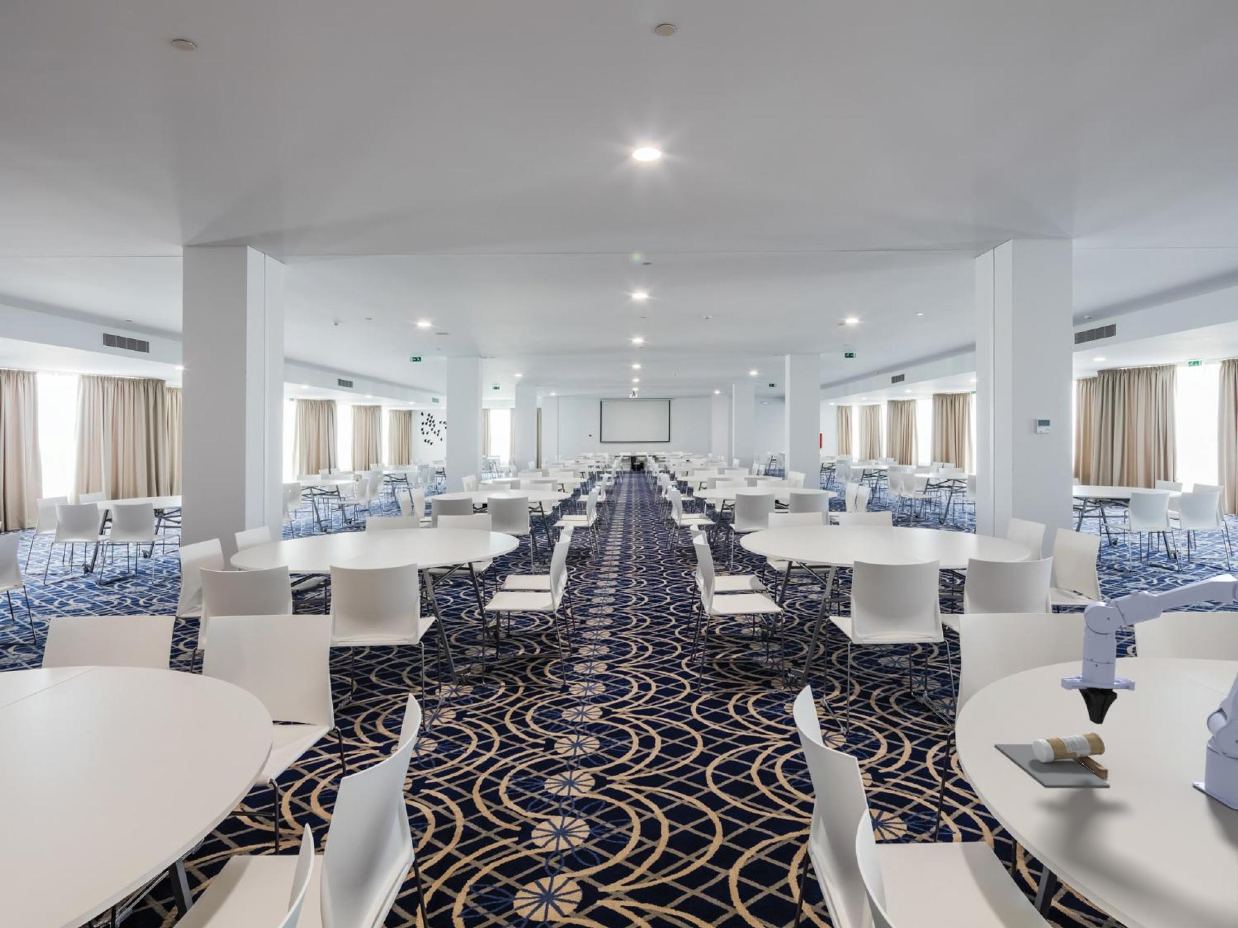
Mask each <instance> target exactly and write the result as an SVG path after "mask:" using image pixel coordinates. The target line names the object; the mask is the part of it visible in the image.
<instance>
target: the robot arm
mask: <svg viewBox="0 0 1238 928" xmlns="http://www.w3.org/2000/svg"><path fill="white" fill-rule="evenodd" d="M1129 593H1130V594H1126V595H1124V596H1120V597H1116V598H1112V599H1111V597H1106V598H1104V601H1092V602H1090V603H1089V604H1088V605H1087V606H1085V608H1084V611H1083V618H1084V620H1085V626H1084V635H1083V644H1082V665H1081V666H1082V669H1081V674H1080V675H1077V676H1076V675H1075V676H1070V677H1069V676H1068V677H1061V679H1060V680H1061V683H1060V684H1061V685H1060V686H1061V688H1063V689H1065V690H1067V691H1072V690H1073V689H1074V690H1078V691H1079V693H1080V694H1081V697H1082V698H1083V701H1084V703H1085V705H1086V709H1087V713H1088V718H1089V721H1090V722H1092V723H1094V724H1095V725H1103V723H1104V720H1105V717H1106V716H1107V713H1108V711H1109V709H1110V707H1111V706H1112V704H1113V703H1114V702H1115V701H1116V700H1117V699H1118V693H1117V692H1115V691H1114V690H1128V691H1135V687H1136V681H1135V680H1132V679H1130V678H1126V677H1125V678H1123V677H1122V678H1121V677H1116V665H1117V664H1116V662H1117V660H1116V659H1117V639H1116V632H1117V630H1118V629H1119V628H1120V626H1121V627H1127V626H1131V625H1135V624H1139V623H1144V622H1147V621H1152V620H1154V619H1155V620H1156V619H1158V618H1160V617H1161V616H1162V613H1163V611H1165V610H1169V609H1173V608H1179V607H1184V606H1187V605H1193V604H1197V603H1198V604H1199V603H1202V602H1207V601H1214V602H1219V603H1223V604H1226V605H1227V604H1228V605H1232V606H1233V605H1234V600H1235V601H1236V602H1238V571H1236V572H1234V573H1232V574H1230V573H1225V574H1220V575H1217V576H1213V577H1209V578H1206V579H1203V580H1199V581H1195V582H1193V583H1189V584H1186V585H1182V586H1179V587H1176V588H1173V589H1169V590H1165V591H1162V592H1160V593H1159V592H1158V593H1152V592H1149V591H1146V590H1142V591H1139V590H1138V589H1134V590H1130V591H1129ZM1236 673H1237V674H1236V677H1235V678H1234V681H1233V683H1232V685H1231V688H1230V690H1229V693H1228V694H1227V697H1226V698H1224V699H1222V701H1221V702H1220V703H1219V706H1218V707H1217V709H1216V710H1214V711H1212V712H1211V713H1210V714H1209V715H1208V716H1207V719H1206V727H1207V729H1208V731H1209V733H1210V734H1211V735H1212V736H1211V737H1210V738H1209V740H1207V742H1206V747H1205V748H1206V750H1205V751H1206V752H1205V769H1204V770H1205V771H1204V781H1193V782H1191V785H1193V786H1194V787H1196V788H1198V789H1199V790H1200V791H1203V792H1204V793H1206V794H1207V795H1210V796H1211V797H1212V798H1214V799H1216V800H1218V801H1219V802H1221V803H1223V804H1224V805H1226V806H1228V807H1229V808H1231V809H1233V810H1238V672H1236Z"/></svg>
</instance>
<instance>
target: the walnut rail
mask: <svg viewBox="0 0 1238 928" xmlns="http://www.w3.org/2000/svg"><path fill="white" fill-rule="evenodd" d="M1075 759H1076V760H1078V761H1079V762H1081V763H1083V764H1084V765H1085V766H1087V767H1088V768H1089V769H1091V770H1092V771H1094V772H1095V773H1096V774H1095V773H1094V772H1093V773H1094V774H1095V775H1097V774H1098V775H1099V776H1098V775H1097V776H1098V777H1099V778H1108V777H1109V776H1108V775H1109V770H1108V768H1107V767H1104V766H1103V765H1102V764H1101V763H1099V762H1097V761H1095V759H1093V758H1091V757H1090V756H1086V757H1078V758H1073V760H1075ZM1076 760H1075V761H1076ZM1078 761H1077V762H1078ZM1079 762H1078V763H1079ZM1081 763H1080V764H1081ZM1084 765H1083V766H1084ZM1085 766H1084V767H1085ZM1087 767H1086V768H1087ZM1088 768H1087V769H1088ZM1089 769H1088V770H1089ZM1091 770H1090V771H1091ZM1092 771H1091V772H1092Z"/></svg>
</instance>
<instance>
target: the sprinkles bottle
mask: <svg viewBox="0 0 1238 928" xmlns="http://www.w3.org/2000/svg"><path fill="white" fill-rule="evenodd" d="M1104 743H1105V742H1104V741H1103V739H1102V738H1101V736H1100V735H1099V734H1098V733H1095V732H1090V733H1086V734H1085V733H1084V734H1076V735H1075V734H1074V735H1067V736H1060V737H1055V738H1047V739H1045V738H1041V739H1040V738H1039V739H1035V740H1033V741H1032V744H1033V745H1032V747H1033V752H1034V754H1035V756H1036V758H1037V759H1038V760H1039V761H1040V762H1043V763H1046V762H1052V761H1054V760H1061V759H1070V758H1072V759H1074V758H1078V757H1086V756H1088V757H1090V756H1097V755H1098V756H1102V755H1104V754H1105V752H1106V745H1105V744H1104Z"/></svg>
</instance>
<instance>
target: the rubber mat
mask: <svg viewBox="0 0 1238 928" xmlns="http://www.w3.org/2000/svg"><path fill="white" fill-rule="evenodd" d="M1032 745H1033V743H1032V744H1027V743H1025V744H1022V743H1021V744H1020V743H1018V744H1017V743H1016V744H1015V743H1011V744H1010V743H1006V744H1005V743H997V744H996V743H995V744H994V747H996V748H997V750H999V751H1000V752H1002V753H1003V754H1004V755H1006V756H1007V757H1008V758H1009V759H1010V760H1011V761H1013V762H1014V763H1015V764H1017V766H1019V767H1020V768H1021V769H1022V770H1024V771H1026V772H1027V773H1028V774H1029V775H1030V776H1032V777H1033V778H1034V779H1035V780H1037V781H1038V782H1039V783H1040V784H1042V785H1043V786H1044V787H1046V788H1110V786H1111V785H1110V784H1109V783H1107V782H1106V781H1105V780H1103V779H1102V778H1101V777H1100V776H1098V775H1097V774H1095V773H1094V772H1092V771H1091V770H1089V769H1088V768H1087V767H1085V766H1084V765H1082V764H1081V763H1079V762H1078V761H1076V760H1075V759H1074V758H1070V759H1061V760H1054V761H1052V762H1046V763H1043V762H1040V761H1039V760H1038V759H1037V758H1036V756H1035V754H1034V752H1033V747H1032Z"/></svg>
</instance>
